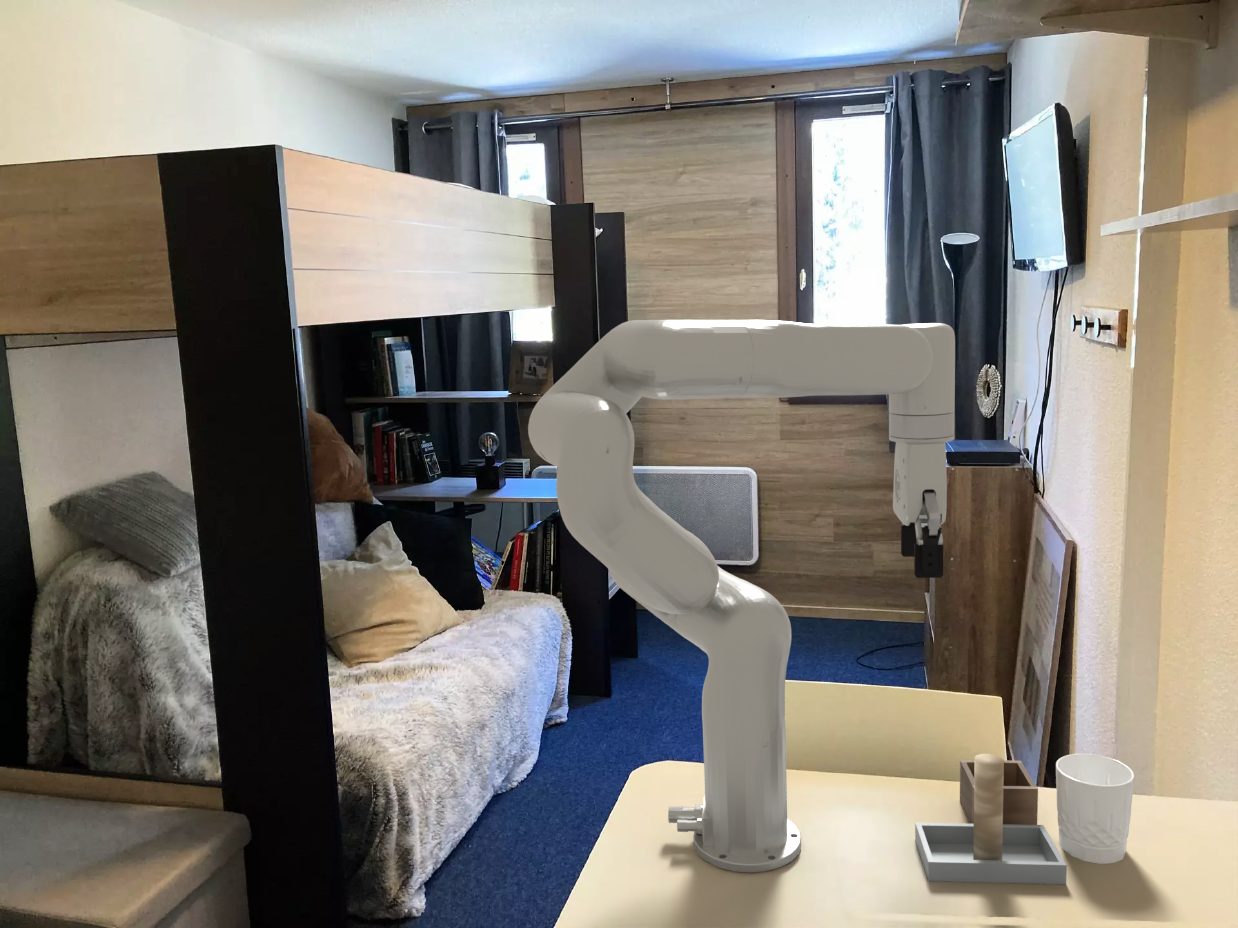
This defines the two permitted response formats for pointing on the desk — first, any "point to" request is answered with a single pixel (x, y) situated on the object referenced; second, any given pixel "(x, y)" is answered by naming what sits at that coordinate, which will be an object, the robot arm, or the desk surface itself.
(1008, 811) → the pen pot
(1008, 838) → the tray
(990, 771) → the dowel
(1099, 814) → the white cup
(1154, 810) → the desk surface
